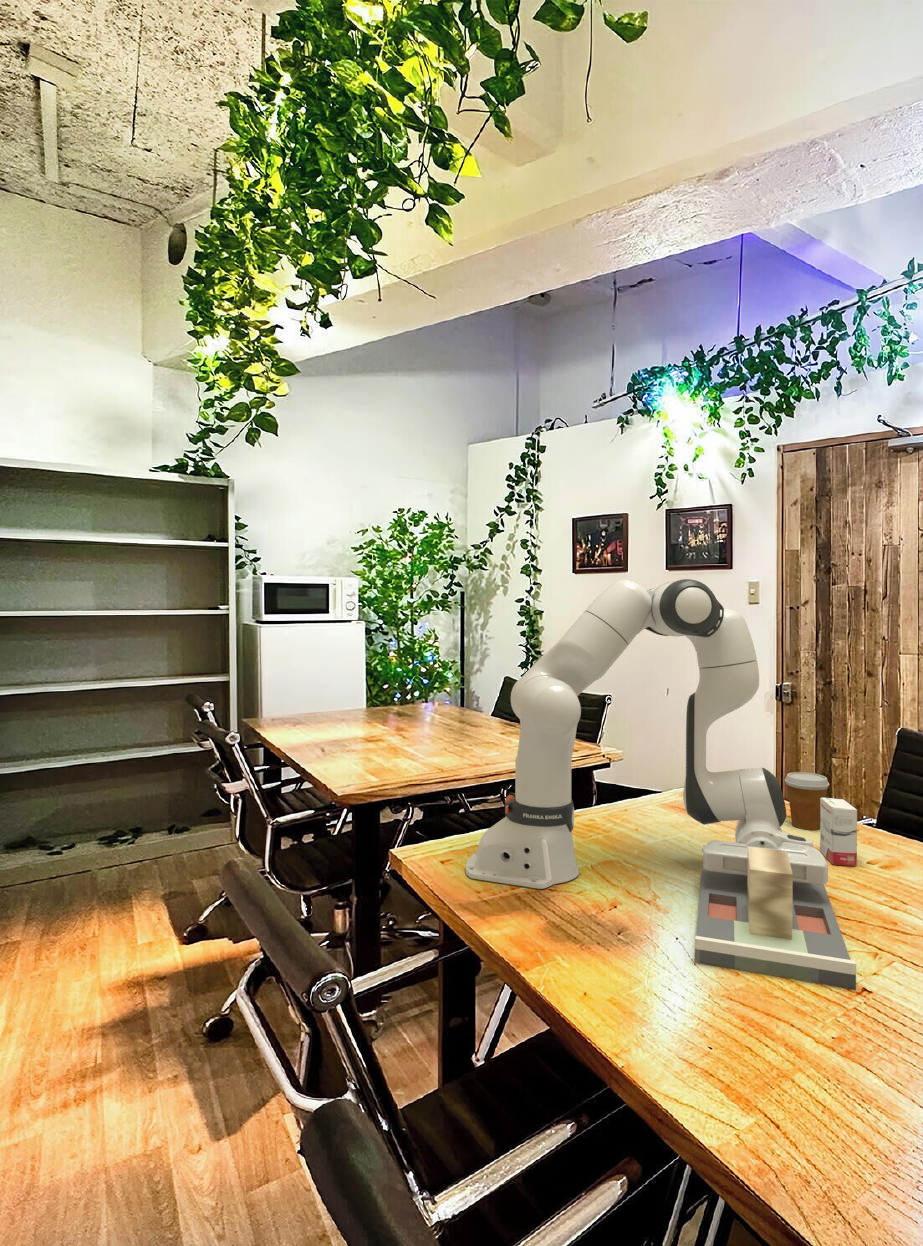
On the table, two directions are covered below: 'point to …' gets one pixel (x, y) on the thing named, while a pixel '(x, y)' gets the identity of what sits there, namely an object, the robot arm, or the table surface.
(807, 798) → the disposable coffee cup
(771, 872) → the maple block
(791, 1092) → the table surface
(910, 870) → the table surface
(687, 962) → the table surface
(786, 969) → the trap runway
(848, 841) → the ink box
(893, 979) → the table surface
